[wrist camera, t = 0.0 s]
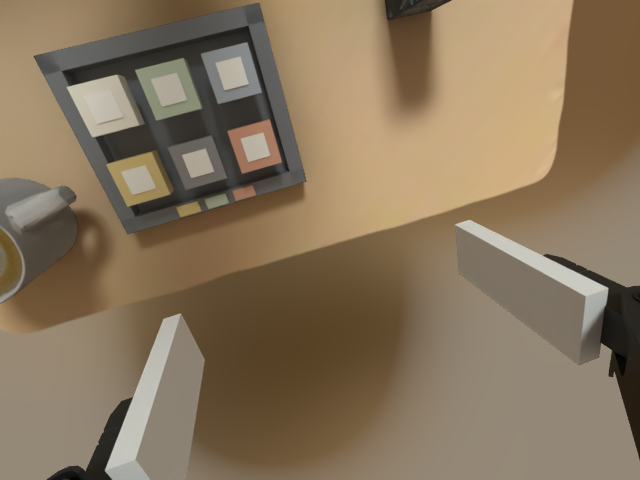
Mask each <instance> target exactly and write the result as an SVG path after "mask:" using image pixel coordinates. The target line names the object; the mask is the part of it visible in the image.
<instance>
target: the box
mask: <svg viewBox="0 0 640 480" xmlns="http://www.w3.org/2000/svg"><path fill="white" fill-rule="evenodd" d="M449 1H451V0H386V8H387V18H388V20H390V19H395V18H399V17H403V16H408V15H413V14H418V13H422V12H427V11H432V10H433V9H435V8H437V7H439V6H441V5H443V4H445V3H447V2H449Z"/></svg>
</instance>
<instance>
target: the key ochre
mask: <svg viewBox="0 0 640 480" xmlns="http://www.w3.org/2000/svg"><path fill="white" fill-rule="evenodd" d="M106 166H107V168H108V169H109V171H110V173H111V175H112V177H113V179H114V181H115V183H116V185H117V187H118V189H119V191H120V193H121V195H122V197H123V199H124V201H125V203H126V205H127V207H129V206H132V205H136V204H139V203H142V202H146V201H149V200H153V199H156V198H160V197H163V196H167V195H170V194H171V193H172V192H173V191H174V189H173V186H172V184H171V182H170V180H169V177H168V175H167V173H166V170H165V168H164V166H163V164H162V161H161V159H160V157H159V154H158V152H157V150H154V151H151V152H147V153H143V154H140V155H136V156H132V157H129V158H125V159H122V160H118V161H114V162H111V163H109V164H106Z"/></svg>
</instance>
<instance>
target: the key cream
mask: <svg viewBox="0 0 640 480" xmlns="http://www.w3.org/2000/svg"><path fill="white" fill-rule="evenodd" d="M67 89H68V91H69V93H70V95H71V97H72V99H73V101H74V103H75V105H76V107H77V109H78V111H79V113H80V115H81V116H82V118H83V120H84V122H85V124H86V126H87V128H88V130H89V132H90V134H91V136H92V137H98V136H102V135H106V134H110V133H114V132H117V131H121V130H125V129H129V128H133V127H136V126H140V125H144V124H145V123H144V120H143V118H142V116H141V113H140V111H139V109H138V107H137V104H136V102H135V100H134V97H133V95H132V93H131V91H130V88H129V86H128V84H127V81H126V79H125V77H124V76H120V75H113V76H109V77H105V78H101V79H97V80H93V81H89V82H85V83H81V84H77V85H73V86H69V87H67Z"/></svg>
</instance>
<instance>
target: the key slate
mask: <svg viewBox="0 0 640 480" xmlns="http://www.w3.org/2000/svg"><path fill="white" fill-rule="evenodd" d="M201 56H202V59H203V62H204V65H205V68H206V71H207V74H208V76H209V79H210V82H211V85H212V88H213V91H214V94H215V97H216V100H217V103H218V104H223V103H227V102H231V101H234V100H238V99H242V98H246V97H249V96H253V95H257V94H261V93H262V91H261V88H260V84H259V81H258V77H257V74H256V70H255V67H254V64H253V60H252V57H251V53H250V50H249V46H248V43H247V42H246V43H242V44H238V45H234V46H230V47H226V48H222V49H218V50H214V51H210V52H206V53H202V54H201Z"/></svg>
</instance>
